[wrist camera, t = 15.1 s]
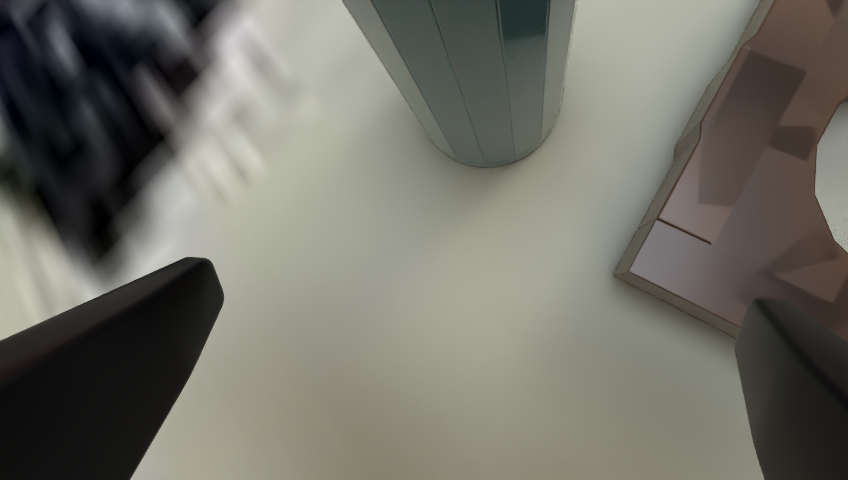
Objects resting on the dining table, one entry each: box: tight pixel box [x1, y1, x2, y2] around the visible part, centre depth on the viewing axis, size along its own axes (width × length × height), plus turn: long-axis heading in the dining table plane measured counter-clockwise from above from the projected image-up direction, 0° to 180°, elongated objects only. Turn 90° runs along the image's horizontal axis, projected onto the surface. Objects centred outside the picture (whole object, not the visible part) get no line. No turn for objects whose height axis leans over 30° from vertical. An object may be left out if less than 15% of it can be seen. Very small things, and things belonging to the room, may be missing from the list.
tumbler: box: [341, 0, 578, 168], centre depth 15 cm, size 6×6×13 cm
